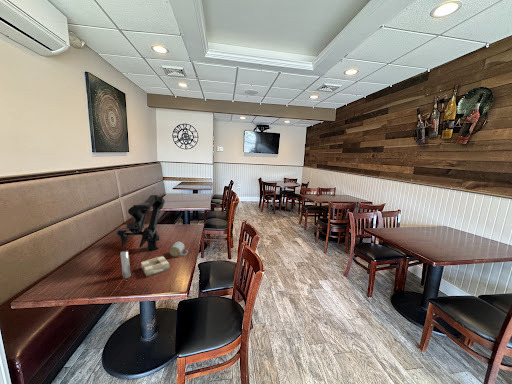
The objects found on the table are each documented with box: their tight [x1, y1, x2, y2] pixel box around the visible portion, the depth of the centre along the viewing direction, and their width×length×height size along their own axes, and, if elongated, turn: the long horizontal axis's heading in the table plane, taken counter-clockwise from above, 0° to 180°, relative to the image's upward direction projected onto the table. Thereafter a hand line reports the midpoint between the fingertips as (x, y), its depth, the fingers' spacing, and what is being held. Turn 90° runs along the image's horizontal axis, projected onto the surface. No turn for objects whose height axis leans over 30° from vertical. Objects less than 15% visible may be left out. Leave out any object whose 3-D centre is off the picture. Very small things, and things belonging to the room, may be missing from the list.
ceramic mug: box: [169, 240, 189, 258], centre depth 138 cm, size 11×8×8 cm
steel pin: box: [119, 250, 132, 279], centre depth 111 cm, size 4×4×14 cm
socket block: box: [140, 255, 171, 278], centre depth 120 cm, size 12×12×4 cm
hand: (131, 247), depth 118 cm, fingers open, 9 cm apart
